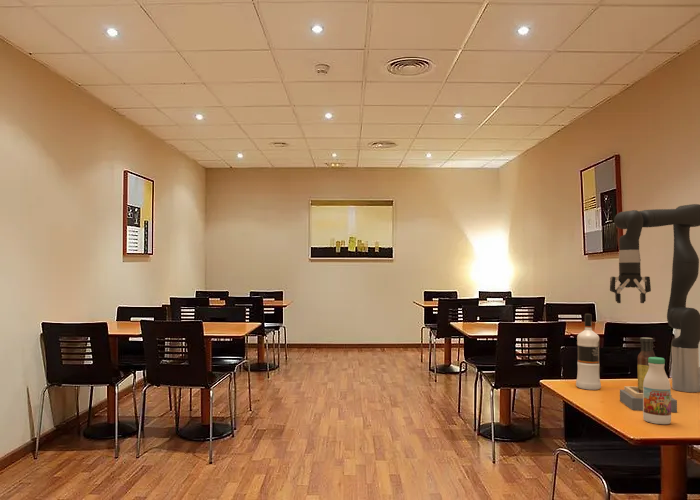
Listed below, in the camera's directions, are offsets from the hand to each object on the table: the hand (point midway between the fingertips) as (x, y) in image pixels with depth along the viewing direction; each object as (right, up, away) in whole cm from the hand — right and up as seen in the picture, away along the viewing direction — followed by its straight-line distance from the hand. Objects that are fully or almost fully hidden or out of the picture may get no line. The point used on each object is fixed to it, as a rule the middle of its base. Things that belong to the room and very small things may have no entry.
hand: (630, 303), depth 214 cm
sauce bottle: (-5, -30, -21) cm, 37 cm away
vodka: (-13, -36, +8) cm, 39 cm away
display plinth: (-5, -34, -21) cm, 41 cm away
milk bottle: (-13, -34, -41) cm, 55 cm away
